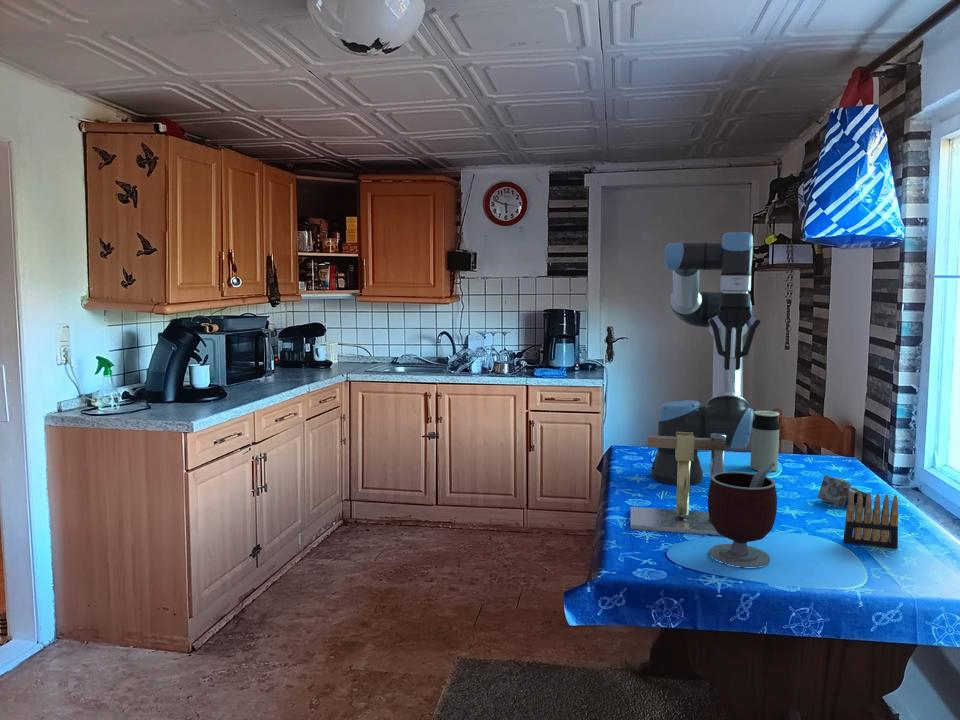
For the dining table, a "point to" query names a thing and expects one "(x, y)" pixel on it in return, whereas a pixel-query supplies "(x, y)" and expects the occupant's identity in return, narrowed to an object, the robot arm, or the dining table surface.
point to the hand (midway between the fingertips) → (731, 382)
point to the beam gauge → (669, 518)
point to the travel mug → (764, 440)
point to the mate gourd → (742, 514)
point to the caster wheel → (838, 491)
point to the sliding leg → (683, 470)
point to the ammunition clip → (871, 522)
